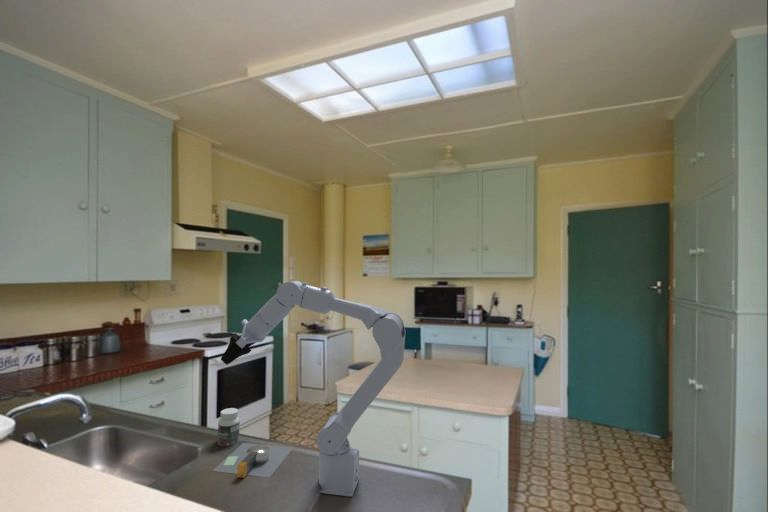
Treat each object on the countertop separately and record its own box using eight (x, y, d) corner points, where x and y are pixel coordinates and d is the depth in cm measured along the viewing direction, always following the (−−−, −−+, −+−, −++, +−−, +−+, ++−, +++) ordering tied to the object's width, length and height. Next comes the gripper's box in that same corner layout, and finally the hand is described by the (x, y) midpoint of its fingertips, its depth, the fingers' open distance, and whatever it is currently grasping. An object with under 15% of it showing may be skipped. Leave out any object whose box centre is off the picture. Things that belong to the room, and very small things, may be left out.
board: (293, 452, 109) (293, 447, 109) (269, 482, 94) (269, 477, 94) (243, 447, 111) (243, 442, 111) (212, 475, 97) (212, 470, 97)
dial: (272, 455, 104) (272, 444, 104) (251, 479, 93) (251, 466, 93) (253, 453, 105) (253, 441, 105) (229, 476, 94) (229, 464, 94)
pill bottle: (213, 447, 111) (214, 412, 111) (229, 439, 116) (230, 405, 116) (227, 452, 108) (228, 416, 108) (243, 443, 113) (244, 409, 113)
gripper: (265, 300, 104) (231, 335, 105) (244, 314, 89) (205, 355, 91) (284, 319, 104) (250, 354, 105) (266, 336, 90) (227, 376, 91)
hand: (230, 355), depth 98 cm, fingers open, 7 cm apart
